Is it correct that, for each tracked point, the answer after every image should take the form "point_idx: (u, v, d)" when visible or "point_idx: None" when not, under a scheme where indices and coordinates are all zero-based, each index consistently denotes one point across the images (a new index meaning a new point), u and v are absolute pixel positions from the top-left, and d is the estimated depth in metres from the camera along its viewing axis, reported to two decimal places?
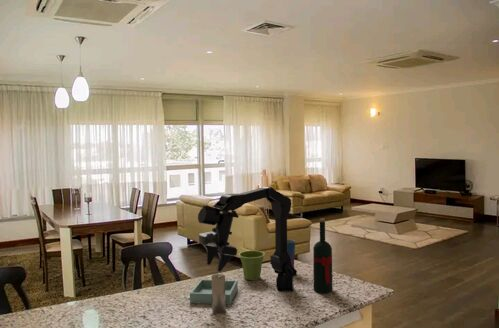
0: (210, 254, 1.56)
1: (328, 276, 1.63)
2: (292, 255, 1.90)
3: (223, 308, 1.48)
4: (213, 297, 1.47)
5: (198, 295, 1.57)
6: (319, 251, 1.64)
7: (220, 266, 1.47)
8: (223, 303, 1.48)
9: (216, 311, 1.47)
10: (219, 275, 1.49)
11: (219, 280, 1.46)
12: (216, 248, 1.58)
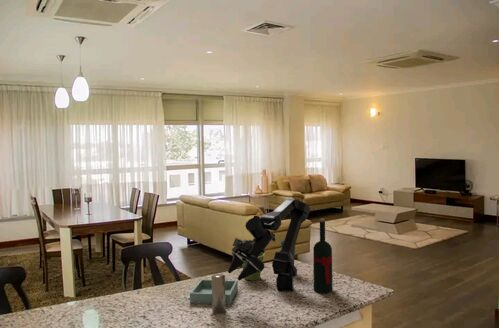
0: (234, 264, 1.57)
1: (328, 276, 1.63)
2: None
3: (223, 308, 1.48)
4: (213, 297, 1.47)
5: (198, 295, 1.57)
6: (319, 251, 1.64)
7: (242, 275, 1.47)
8: (223, 303, 1.48)
9: (216, 311, 1.47)
10: (219, 275, 1.49)
11: (219, 280, 1.46)
12: (242, 262, 1.58)
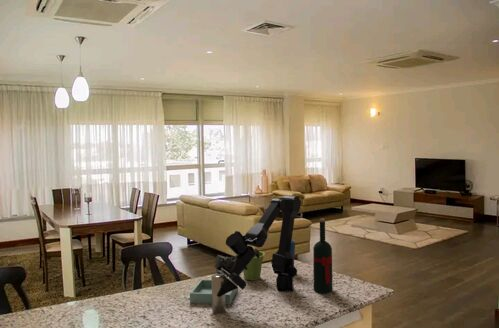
0: None
1: (328, 276, 1.63)
2: (292, 255, 1.90)
3: (223, 308, 1.48)
4: (213, 297, 1.47)
5: (198, 295, 1.57)
6: (319, 251, 1.64)
7: (221, 291, 1.46)
8: (223, 303, 1.48)
9: (216, 311, 1.47)
10: (219, 275, 1.49)
11: (219, 280, 1.46)
12: None
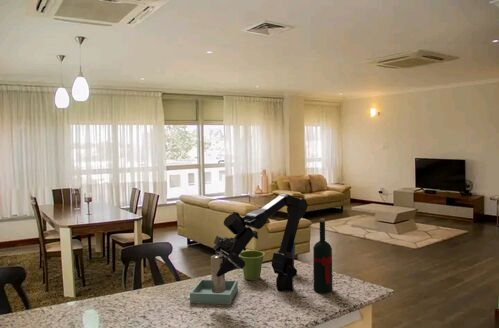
0: None
1: (328, 276, 1.63)
2: (292, 255, 1.90)
3: (222, 288, 1.50)
4: (212, 277, 1.49)
5: (198, 295, 1.57)
6: (319, 251, 1.64)
7: (220, 271, 1.48)
8: (222, 283, 1.50)
9: (216, 291, 1.49)
10: (218, 256, 1.51)
11: (219, 261, 1.48)
12: None
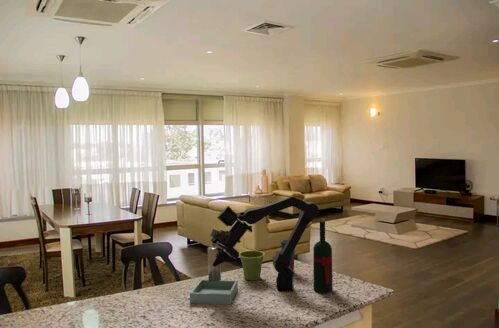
0: None
1: (328, 276, 1.63)
2: (292, 255, 1.90)
3: (218, 277, 1.62)
4: (209, 267, 1.62)
5: (198, 295, 1.57)
6: (319, 251, 1.64)
7: (216, 261, 1.60)
8: (218, 272, 1.62)
9: (212, 280, 1.61)
10: (214, 247, 1.63)
11: (215, 252, 1.61)
12: None
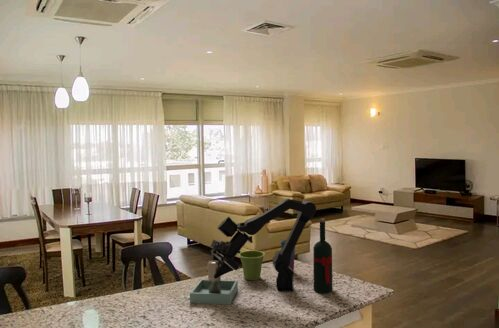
0: None
1: (328, 276, 1.63)
2: (292, 255, 1.90)
3: (218, 291, 1.62)
4: (209, 281, 1.62)
5: (198, 295, 1.57)
6: (319, 251, 1.64)
7: (217, 273, 1.59)
8: (218, 287, 1.62)
9: None
10: (214, 262, 1.64)
11: (215, 266, 1.61)
12: (220, 262, 1.69)
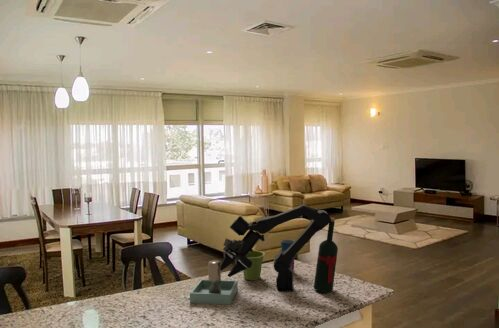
0: (225, 262, 1.71)
1: (331, 275, 1.63)
2: None
3: (219, 291, 1.62)
4: (209, 281, 1.62)
5: (198, 295, 1.57)
6: (325, 250, 1.64)
7: (231, 272, 1.61)
8: (218, 287, 1.62)
9: None
10: (215, 262, 1.64)
11: (215, 266, 1.61)
12: (232, 260, 1.72)
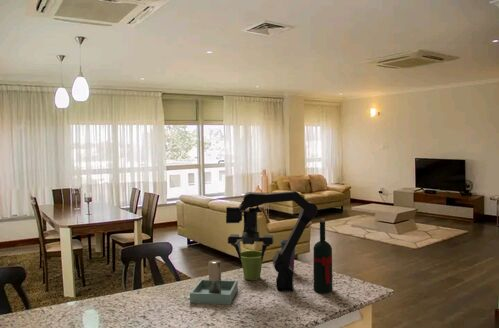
0: (239, 250, 1.70)
1: (328, 276, 1.63)
2: (292, 255, 1.90)
3: (219, 291, 1.62)
4: (210, 281, 1.62)
5: (198, 295, 1.57)
6: (319, 251, 1.64)
7: (263, 255, 1.68)
8: (219, 287, 1.62)
9: None
10: (215, 261, 1.64)
11: (215, 266, 1.61)
12: (239, 242, 1.72)
